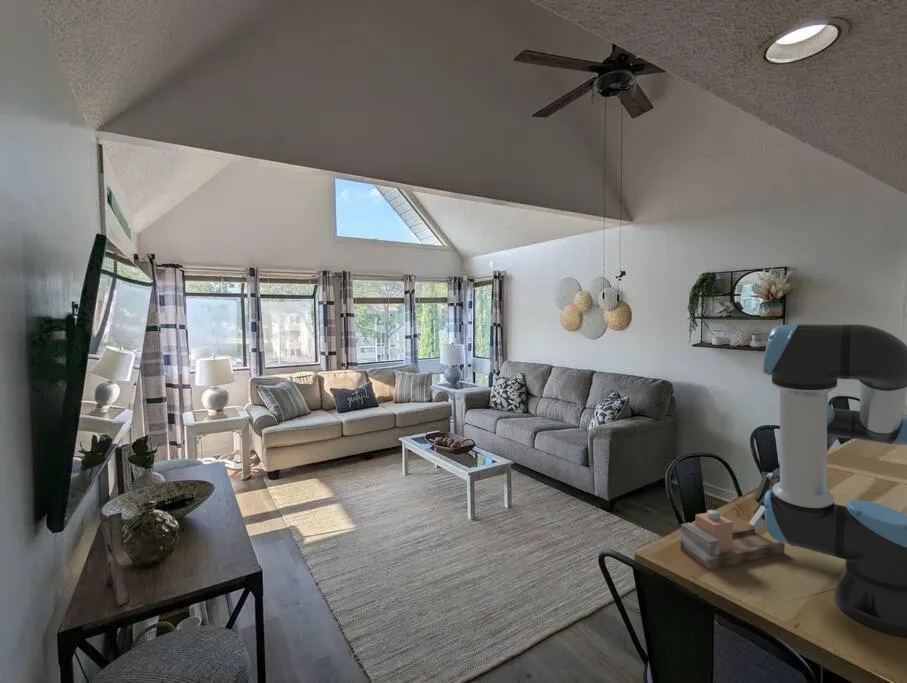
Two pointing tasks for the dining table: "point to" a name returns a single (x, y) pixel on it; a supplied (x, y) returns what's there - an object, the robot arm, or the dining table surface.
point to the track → (743, 546)
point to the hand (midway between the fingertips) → (753, 527)
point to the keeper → (716, 528)
